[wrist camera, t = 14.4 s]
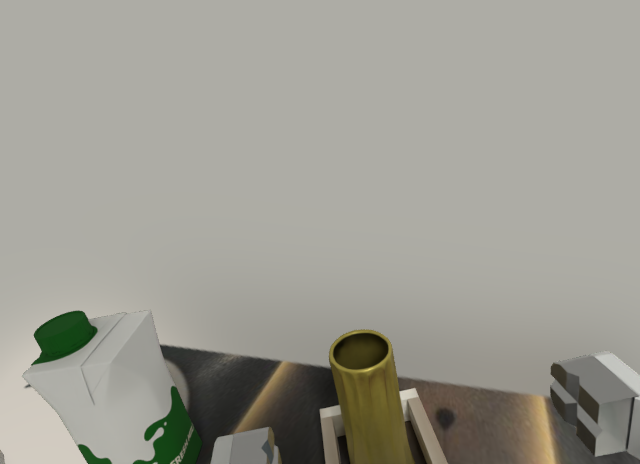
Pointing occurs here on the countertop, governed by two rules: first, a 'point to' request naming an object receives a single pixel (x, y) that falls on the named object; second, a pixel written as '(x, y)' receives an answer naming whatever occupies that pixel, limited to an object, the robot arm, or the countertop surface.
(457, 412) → the countertop surface
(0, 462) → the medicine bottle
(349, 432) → the vase
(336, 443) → the frame
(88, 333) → the milk carton
